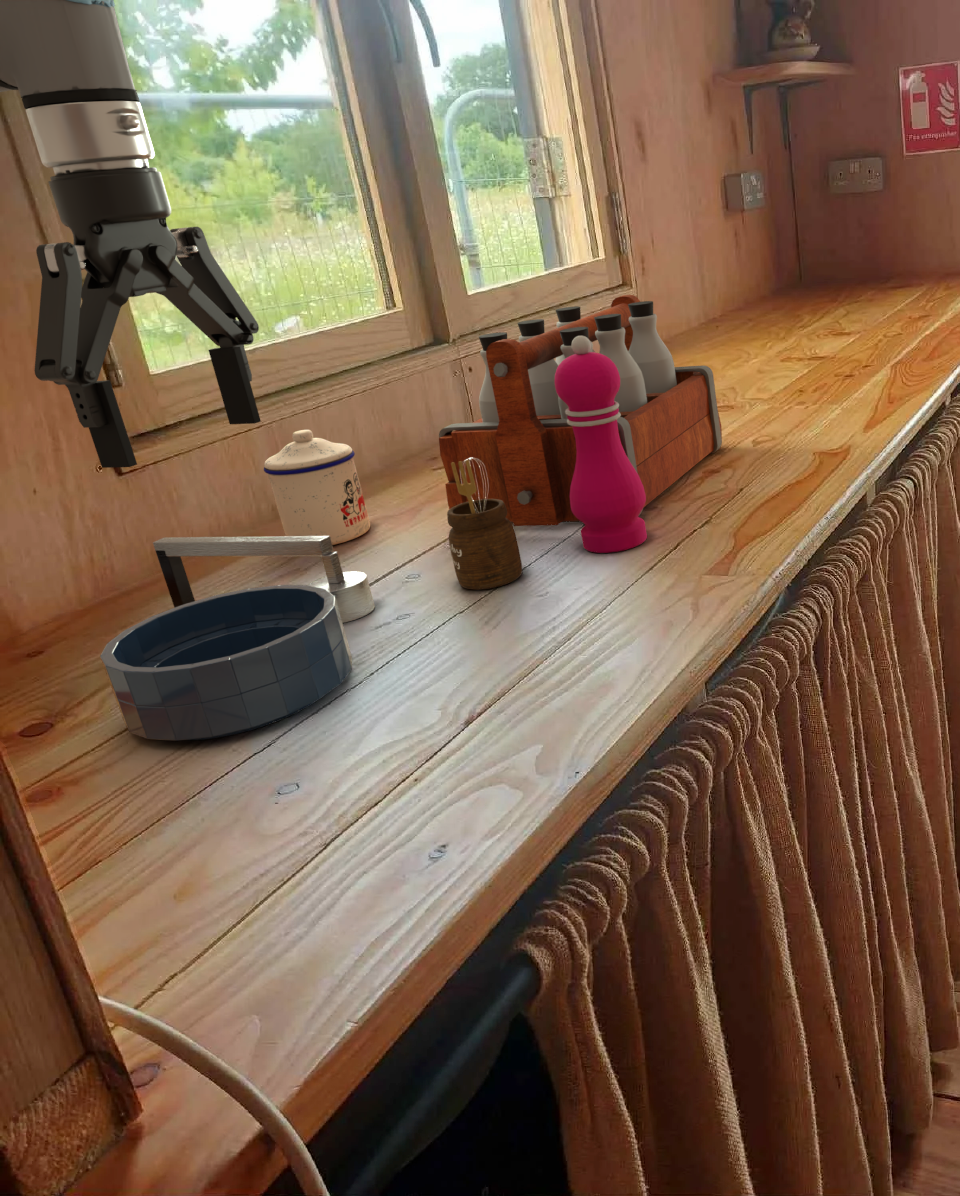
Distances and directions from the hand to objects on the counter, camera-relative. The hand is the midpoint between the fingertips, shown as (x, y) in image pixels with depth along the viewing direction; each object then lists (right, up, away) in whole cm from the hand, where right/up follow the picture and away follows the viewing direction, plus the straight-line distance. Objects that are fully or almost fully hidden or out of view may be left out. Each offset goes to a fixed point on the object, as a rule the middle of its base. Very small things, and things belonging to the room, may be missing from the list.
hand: (186, 443), depth 92 cm
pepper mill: (+33, -7, +17) cm, 38 cm away
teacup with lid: (-1, -6, +31) cm, 32 cm away
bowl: (+9, -20, -9) cm, 24 cm away
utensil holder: (+22, -11, +11) cm, 27 cm away
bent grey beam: (+3, -14, +9) cm, 17 cm away
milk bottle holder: (+27, 0, +38) cm, 47 cm away
